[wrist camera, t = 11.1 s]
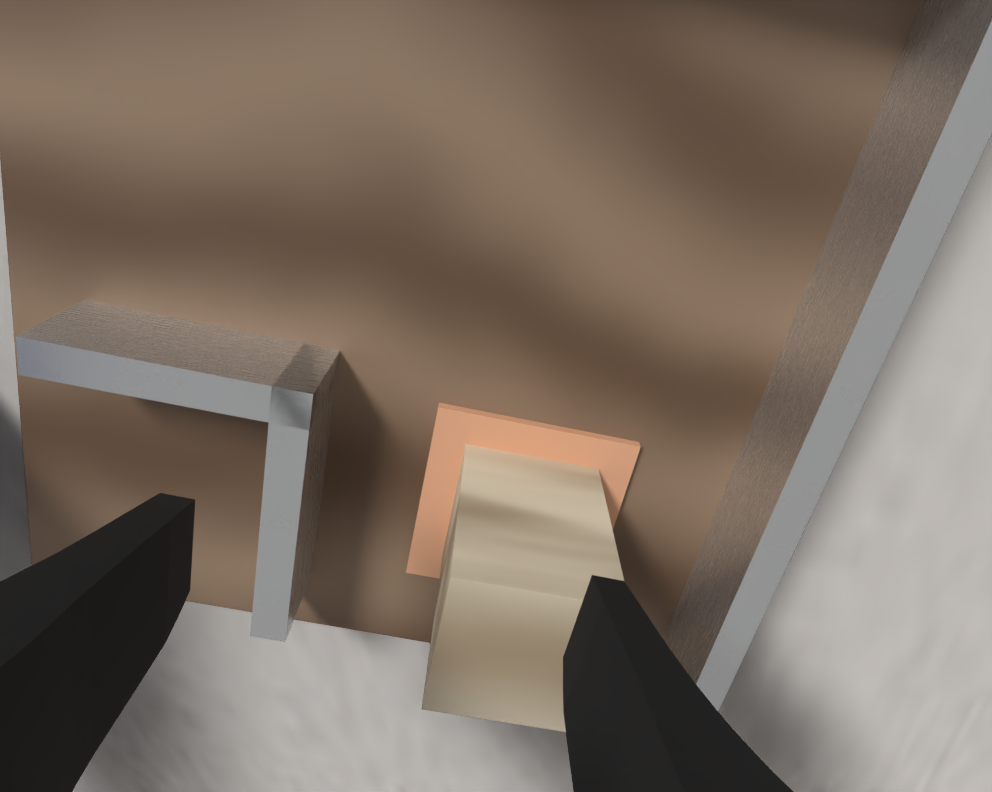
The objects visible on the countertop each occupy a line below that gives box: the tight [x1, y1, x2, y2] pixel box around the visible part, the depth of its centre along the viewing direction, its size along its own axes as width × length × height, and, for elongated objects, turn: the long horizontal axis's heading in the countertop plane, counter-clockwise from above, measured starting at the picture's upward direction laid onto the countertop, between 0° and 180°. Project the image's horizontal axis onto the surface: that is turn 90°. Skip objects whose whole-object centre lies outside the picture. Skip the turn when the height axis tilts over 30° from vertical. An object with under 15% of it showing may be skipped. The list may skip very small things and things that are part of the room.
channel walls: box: [16, 0, 992, 711], centre depth 18 cm, size 21×20×3 cm
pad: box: [406, 403, 641, 579], centre depth 22 cm, size 6×6×1 cm
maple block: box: [422, 444, 624, 732], centre depth 19 cm, size 4×4×6 cm
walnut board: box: [0, 0, 922, 643], centre depth 20 cm, size 24×24×1 cm
